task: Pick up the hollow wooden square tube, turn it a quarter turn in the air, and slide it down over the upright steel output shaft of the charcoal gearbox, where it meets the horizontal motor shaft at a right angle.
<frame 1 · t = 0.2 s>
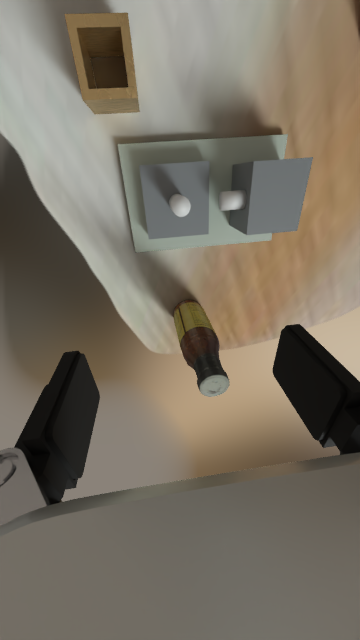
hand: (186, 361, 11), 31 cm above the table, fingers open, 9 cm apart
sauce bottle: (188, 310, 45), on the table
coupling rig: (203, 198, 34), on the table
hollow wooden square tube: (112, 81, 27), on the table
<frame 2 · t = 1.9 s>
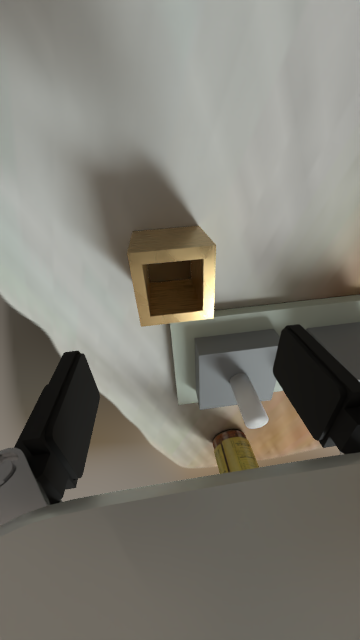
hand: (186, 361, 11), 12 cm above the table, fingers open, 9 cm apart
sauce bottle: (229, 435, 40), on the table
coupling rig: (263, 351, 28), on the table
hollow wooden square tube: (168, 260, 20), on the table
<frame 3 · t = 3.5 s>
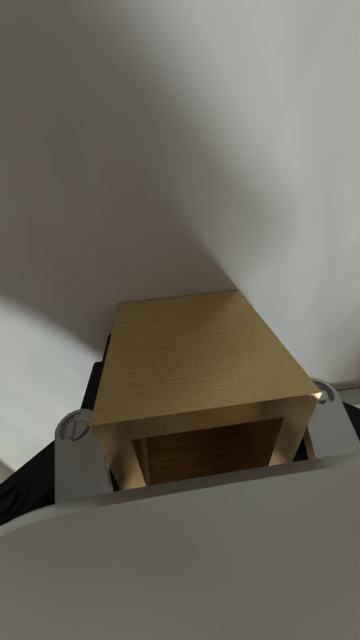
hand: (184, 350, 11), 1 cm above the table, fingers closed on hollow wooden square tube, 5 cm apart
coupling rig: (314, 443, 20), on the table
hollow wooden square tube: (183, 343, 12), on the table, touching gripper
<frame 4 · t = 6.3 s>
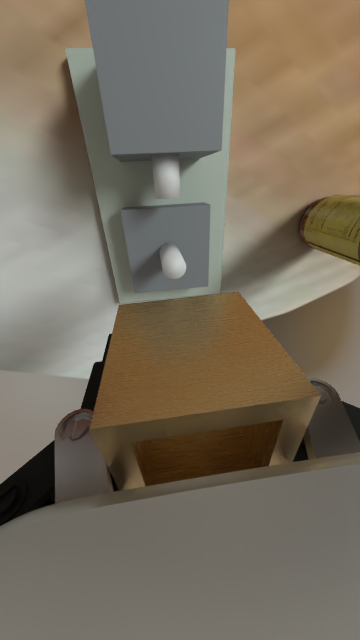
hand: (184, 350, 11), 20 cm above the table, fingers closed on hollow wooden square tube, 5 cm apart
sauce bottle: (317, 220, 29), on the table
coupling rig: (163, 203, 26), on the table
hollow wooden square tube: (183, 345, 12), point 19 cm above the table, touching gripper
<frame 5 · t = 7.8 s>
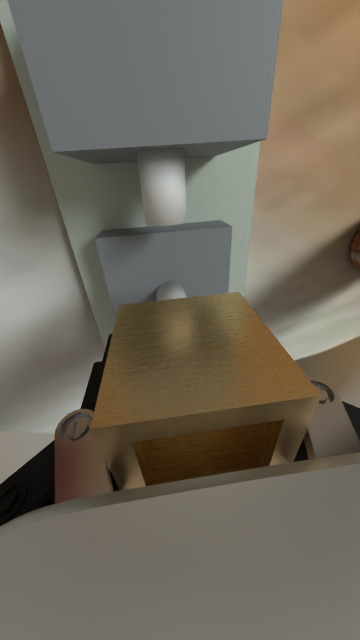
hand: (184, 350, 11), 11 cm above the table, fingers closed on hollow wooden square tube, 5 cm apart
coupling rig: (161, 222, 18), on the table
hollow wooden square tube: (183, 345, 12), point 10 cm above the table, touching gripper
when the fingers open (6 cm above the table, at t = 9.1 s): hollow wooden square tube drops 1 cm, resting on coupling rig.
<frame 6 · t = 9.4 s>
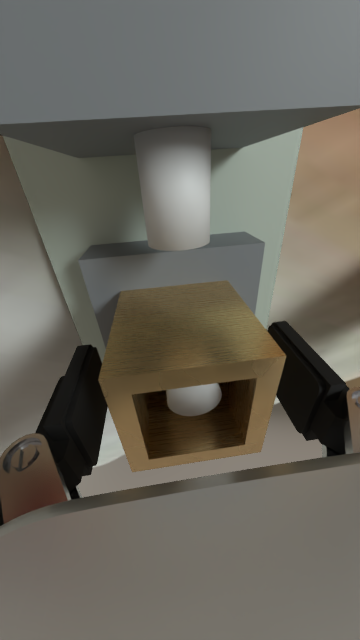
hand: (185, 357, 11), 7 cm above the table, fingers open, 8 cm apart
coupling rig: (168, 233, 14), on the table
hollow wooden square tube: (178, 329, 13), point 4 cm above the table, touching coupling rig
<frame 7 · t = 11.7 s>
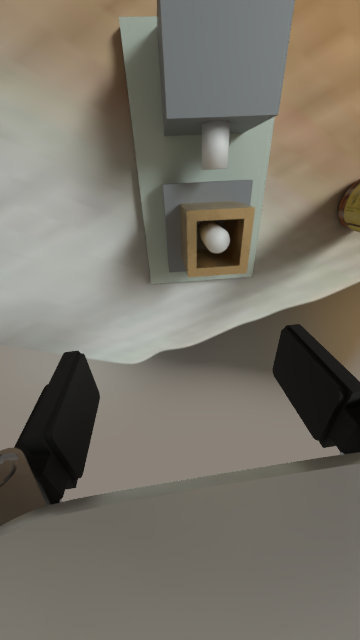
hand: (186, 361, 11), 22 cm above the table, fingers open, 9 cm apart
sauce bottle: (357, 201, 28), on the table
coupling rig: (201, 181, 25), on the table
hollow wooden square tube: (206, 231, 24), point 4 cm above the table, touching coupling rig
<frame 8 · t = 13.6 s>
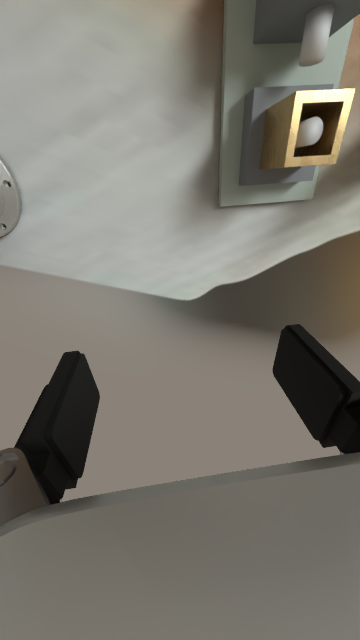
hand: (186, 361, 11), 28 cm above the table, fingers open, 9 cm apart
coupling rig: (276, 97, 27), on the table
hollow wooden square tube: (285, 139, 27), point 4 cm above the table, touching coupling rig
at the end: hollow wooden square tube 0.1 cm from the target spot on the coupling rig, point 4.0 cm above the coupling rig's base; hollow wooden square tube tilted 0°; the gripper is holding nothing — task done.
